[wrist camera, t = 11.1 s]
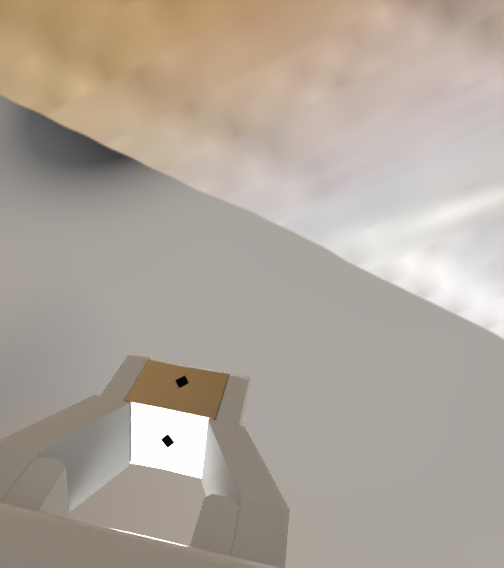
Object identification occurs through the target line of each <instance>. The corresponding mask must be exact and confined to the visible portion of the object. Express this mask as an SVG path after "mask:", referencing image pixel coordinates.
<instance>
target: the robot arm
mask: <svg viewBox="0 0 504 568" xmlns="http://www.w3.org/2000/svg"><path fill="white" fill-rule="evenodd" d="M250 382H251V378H250V377H249V376H243V375H238V374H232V373H231V374H229V373H224V372H219V371H214V370H208V369H203V368H198V367H193V366H189V365H185V364H180V363H175V362H171V361H167V360H162V359H158V358H153V357H152V358H150V357H147V356H143V355H138V354H134V353H132V354H130V355H128V356H127V357H126V359H125V361H124V362H123V363H122V365H121V366H120V368H119V369H118V371H117V372H116V374H115V375H114V377H113V378H112V380H111V381H110V382H109V384H108V385H107V387H106V388H105V390H104V391H103V393H102V394H101V396H96V395H93V396H91V397H89V398H87V399H85V400H83V401H81V402H79V403H77V404H74V405H72V406H70V407H68V408H66V409H64V410H62V411H59V412H57V413H56V414H53V415H51V416H49V417H47V418H45V419H43V420H41V421H39V422H36V423H34V424H32V425H30V426H28V427H26V428H24V429H22V430H20V431H17V432H15V433H13V434H11V435H9V436H7V437H5V438H3V439H1V440H0V568H285V559H286V547H287V534H288V522H289V508H288V506H287V504H286V502H285V500H284V498H283V496H282V495H281V492H280V491H279V489H278V487H277V485H276V483H275V481H274V479H273V477H272V475H271V473H270V472H269V470H268V468H267V466H266V464H265V462H264V460H263V458H262V456H261V455H260V453H259V451H258V449H257V447H256V445H255V443H254V441H253V439H252V437H251V435H250V434H249V432H248V430H247V428H246V427H244V426H243V424H244V418H245V412H246V406H247V400H248V394H249V389H250ZM130 463H134V464H140V465H145V466H150V467H156V468H161V469H166V470H170V471H175V472H178V473H182V474H186V475H190V476H194V477H198V478H202V479H201V480H202V484H203V487H204V491H205V494H206V497H205V498H204V500H203V504H202V507H201V511H200V514H199V517H198V521H197V524H196V527H195V531H194V534H193V538H192V541H191V544H190V546H186V545H182V544H178V543H173V542H169V541H165V540H160V539H156V538H152V537H147V536H143V535H139V534H134V533H130V532H126V531H122V530H117V529H113V528H109V527H104V526H99V525H95V524H91V523H87V522H82V521H78V520H74V519H70V511H72V510H73V509H74V508H75V507H77V506H78V505H79V504H80V503H82V502H83V501H84V500H86V499H87V498H88V497H89V496H90V495H92V494H93V493H95V492H96V491H97V490H98V489H100V488H101V487H102V486H103V485H105V484H106V483H107V482H109V481H110V480H111V479H112V478H114V477H115V476H116V475H117V474H119V473H120V472H121V471H123V470H124V469H125V468H126V467H127V466H129V465H130Z"/></svg>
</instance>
